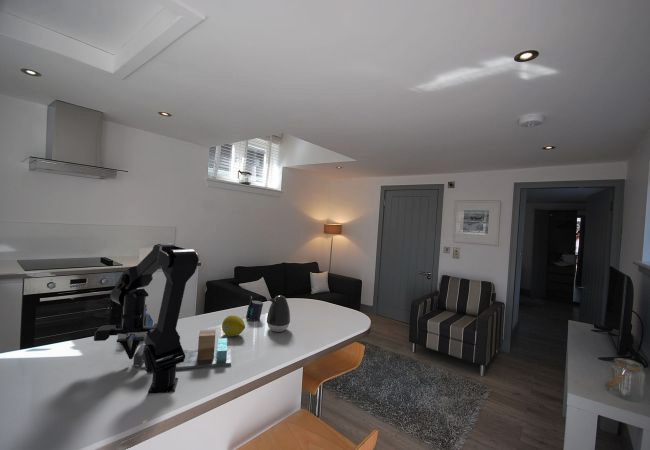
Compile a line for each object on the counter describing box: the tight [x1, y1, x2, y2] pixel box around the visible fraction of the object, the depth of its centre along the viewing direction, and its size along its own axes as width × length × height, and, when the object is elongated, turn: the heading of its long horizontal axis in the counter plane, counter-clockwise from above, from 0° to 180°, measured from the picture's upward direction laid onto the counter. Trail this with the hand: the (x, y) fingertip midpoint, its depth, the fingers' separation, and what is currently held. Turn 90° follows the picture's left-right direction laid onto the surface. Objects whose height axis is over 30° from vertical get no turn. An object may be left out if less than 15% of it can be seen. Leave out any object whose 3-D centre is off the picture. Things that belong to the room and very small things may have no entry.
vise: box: [146, 337, 232, 374], centre depth 99 cm, size 24×12×5 cm, turn 108°
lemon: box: [221, 314, 246, 337], centre depth 121 cm, size 11×8×8 cm
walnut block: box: [197, 329, 217, 360], centre depth 100 cm, size 5×5×8 cm
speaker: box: [245, 296, 264, 322], centre depth 141 cm, size 8×6×10 cm
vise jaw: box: [132, 344, 173, 366], centre depth 95 cm, size 11×10×4 cm
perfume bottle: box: [132, 303, 154, 341], centre depth 114 cm, size 6×6×12 cm
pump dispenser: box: [266, 294, 291, 333], centre depth 131 cm, size 10×10×15 cm
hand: (131, 358), depth 93 cm, fingers closed
